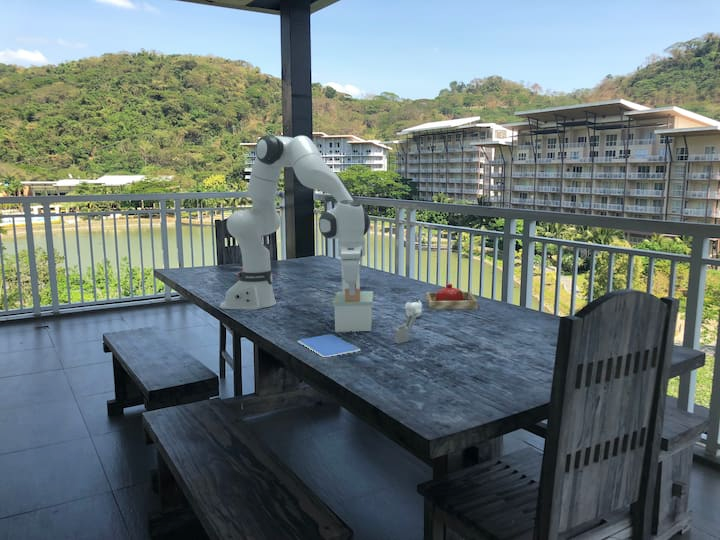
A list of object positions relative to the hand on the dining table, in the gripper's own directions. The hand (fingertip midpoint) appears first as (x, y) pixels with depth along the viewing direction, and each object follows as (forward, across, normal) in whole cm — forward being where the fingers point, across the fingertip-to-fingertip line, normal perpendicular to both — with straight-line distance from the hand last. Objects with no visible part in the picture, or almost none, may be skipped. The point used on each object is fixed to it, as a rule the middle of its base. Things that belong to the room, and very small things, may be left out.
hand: (353, 291), depth 182 cm
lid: (+4, -6, 0) cm, 8 cm away
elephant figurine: (+14, -18, +21) cm, 30 cm away
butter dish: (+14, -38, +36) cm, 54 cm away
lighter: (+14, +12, +17) cm, 25 cm away
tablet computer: (+14, +17, -7) cm, 23 cm away
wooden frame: (+13, -38, +37) cm, 54 cm away
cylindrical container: (+13, -40, -3) cm, 42 cm away
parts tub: (+13, -7, 0) cm, 15 cm away
